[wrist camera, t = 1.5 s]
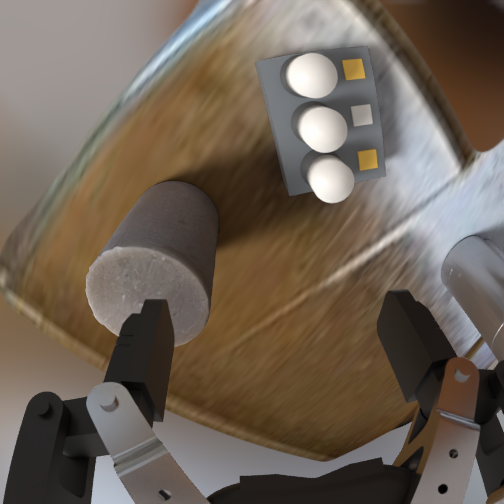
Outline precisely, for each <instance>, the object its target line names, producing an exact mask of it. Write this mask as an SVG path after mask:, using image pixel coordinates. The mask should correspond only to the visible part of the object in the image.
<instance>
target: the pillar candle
mask: <svg viewBox="0 0 504 504" xmlns="http://www.w3.org/2000/svg"><path fill="white" fill-rule="evenodd" d="M218 233H219V215H218V212H217V209H216V207H215V205H214V203H213V202H212V200H211V199H210V198H209V197H208V196H207V194H206V193H204V192H203V191H202V190H201V189H199V188H198V187H196V186H194V185H192V184H188V183H185V182H181V181H167V182H162V183H159V184H156V185H154V186H152V187H151V188H149V189H148V190H147V191H145V192H144V193H143V195H142V196H141V197H140V198H139V199H138V201H137V202H136V203H135V205H134V206H133V207H132V208H131V210H130V211H129V212H128V214H127V215H126V217H125V218H124V219H123V221H122V222H121V224H120V225H119V227H118V228H117V229H116V231H115V232H114V234H113V235H112V237H111V238H110V239H109V241H108V242H107V244H106V245H105V247H104V248H103V250H102V251H101V253H100V254H99V256H98V257H97V258H96V260H95V262H94V263H93V264H92V265H91V266H90V267H89V269H90V271H89V273H88V274H87V276H86V294H87V297H88V301H89V305H90V306H91V308H92V310H93V312H94V314H93V315H94V316H95V318H96V319H97V320H98V321H99V322H100V323H101V324H104V325H105V326H106V327H107V328H108V329H109V330H110V331H111V332H113V333H114V334H116V335H117V336H119V333H120V330H121V327H122V324H123V323H124V321H125V320H126V319H127V318H128V317H129V316H130V315H131V314H132V313H140V312H141V309H142V306H143V303H144V301H145V299H166V300H167V302H168V306H169V310H170V315H171V319H172V324H173V328H174V335H175V344H174V347H175V346H179V345H182V344H186V343H187V342H189V341H190V340H192V339H193V338H195V337H196V336H197V335H199V333H200V332H201V331H202V330H203V328H204V327H205V325H206V323H207V321H208V317H209V313H210V307H211V296H212V287H213V276H214V268H215V254H216V247H217V239H218Z"/></svg>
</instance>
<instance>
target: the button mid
mask: <svg viewBox="0 0 504 504" xmlns="http://www.w3.org/2000/svg"><path fill="white" fill-rule="evenodd" d="M297 129H298V133H299V135H300V137H301V138H302V140H303V141H304V142H306V143H307V144H308V145H309V146H310V147H311V148H312V149H314V150H315V151H318V152H322V153H328V152H332V151H335V150H337V149H338V148H340V147H341V146H342V144H343V143H344V142H345V140H346V137H347V124H346V121H345V119H344V118H343V116H342V115H341V114H340V113H338V112H337V111H335V110H333V109H330V108H327V107H324V106H311V107H309V108H307V109H306V110H304V111H303V112H302V113H301V115H300V117H299V119H298V123H297Z"/></svg>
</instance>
